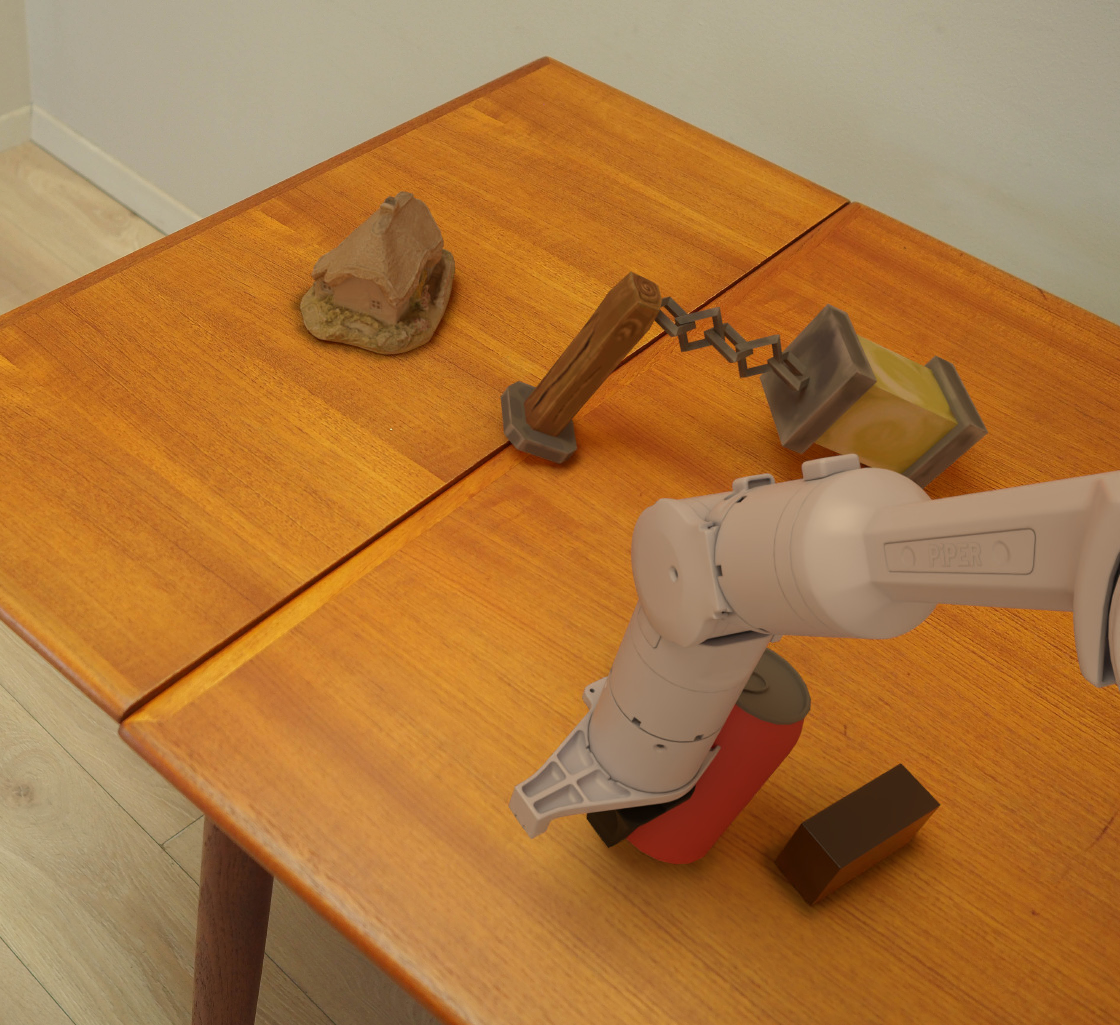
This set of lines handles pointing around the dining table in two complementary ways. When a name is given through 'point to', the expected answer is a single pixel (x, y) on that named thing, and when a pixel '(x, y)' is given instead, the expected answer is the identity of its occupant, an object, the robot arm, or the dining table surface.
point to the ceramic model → (383, 281)
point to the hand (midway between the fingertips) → (602, 830)
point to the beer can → (733, 764)
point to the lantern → (767, 386)
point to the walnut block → (855, 833)
